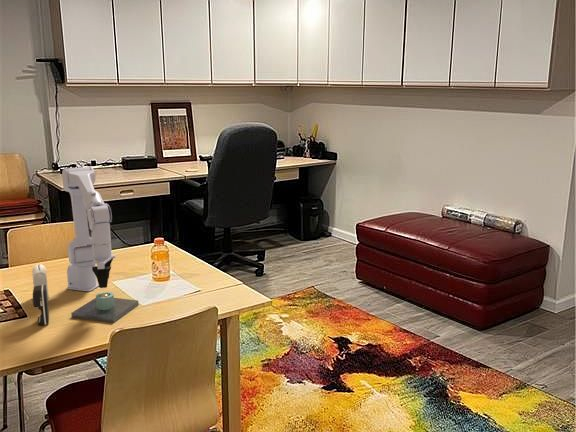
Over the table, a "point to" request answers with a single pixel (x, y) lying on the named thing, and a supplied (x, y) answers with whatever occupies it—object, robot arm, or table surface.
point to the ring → (105, 301)
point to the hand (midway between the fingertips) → (104, 283)
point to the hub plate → (109, 315)
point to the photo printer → (40, 277)
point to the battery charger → (41, 303)
